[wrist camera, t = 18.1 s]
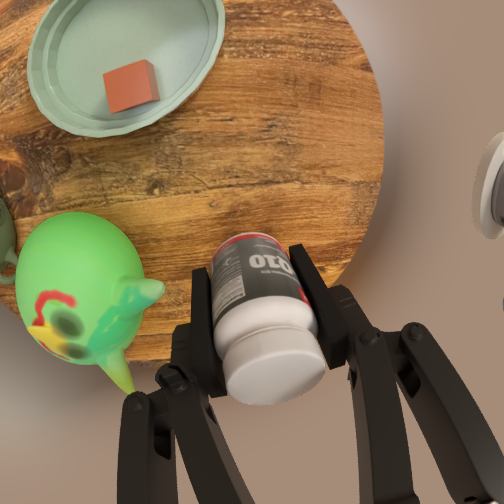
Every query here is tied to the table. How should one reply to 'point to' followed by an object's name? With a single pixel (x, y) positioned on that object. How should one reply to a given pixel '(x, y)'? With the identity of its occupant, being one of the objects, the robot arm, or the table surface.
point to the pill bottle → (262, 322)
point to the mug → (7, 243)
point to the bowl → (120, 58)
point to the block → (131, 86)
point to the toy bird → (84, 291)
